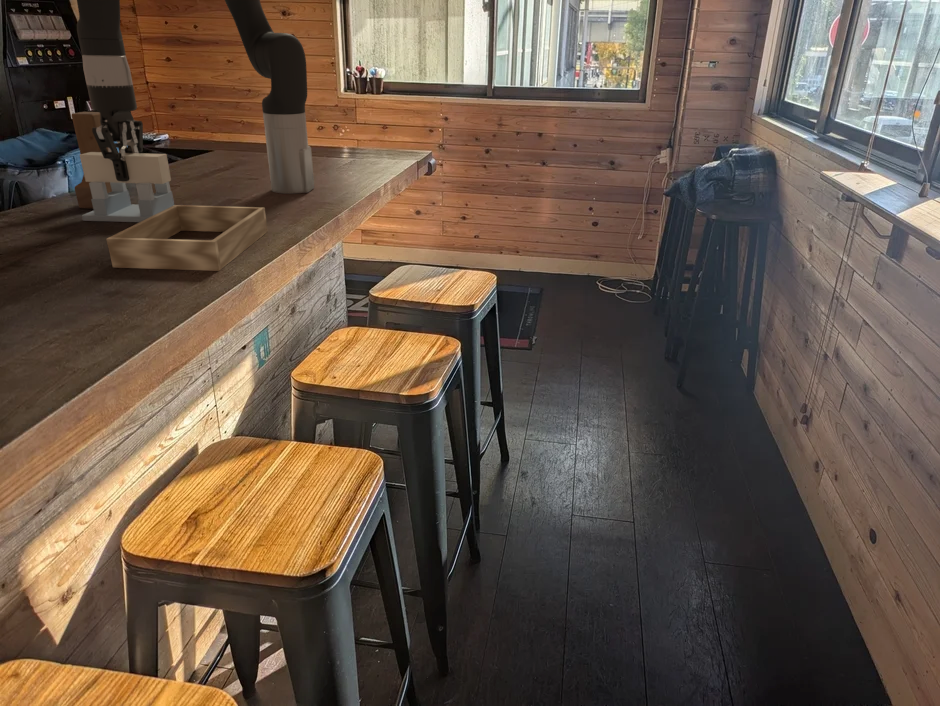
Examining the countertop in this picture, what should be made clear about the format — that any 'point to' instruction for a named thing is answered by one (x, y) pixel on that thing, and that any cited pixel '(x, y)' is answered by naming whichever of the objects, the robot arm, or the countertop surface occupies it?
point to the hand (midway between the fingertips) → (128, 178)
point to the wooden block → (86, 144)
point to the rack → (127, 202)
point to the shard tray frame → (156, 251)
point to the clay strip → (138, 166)
